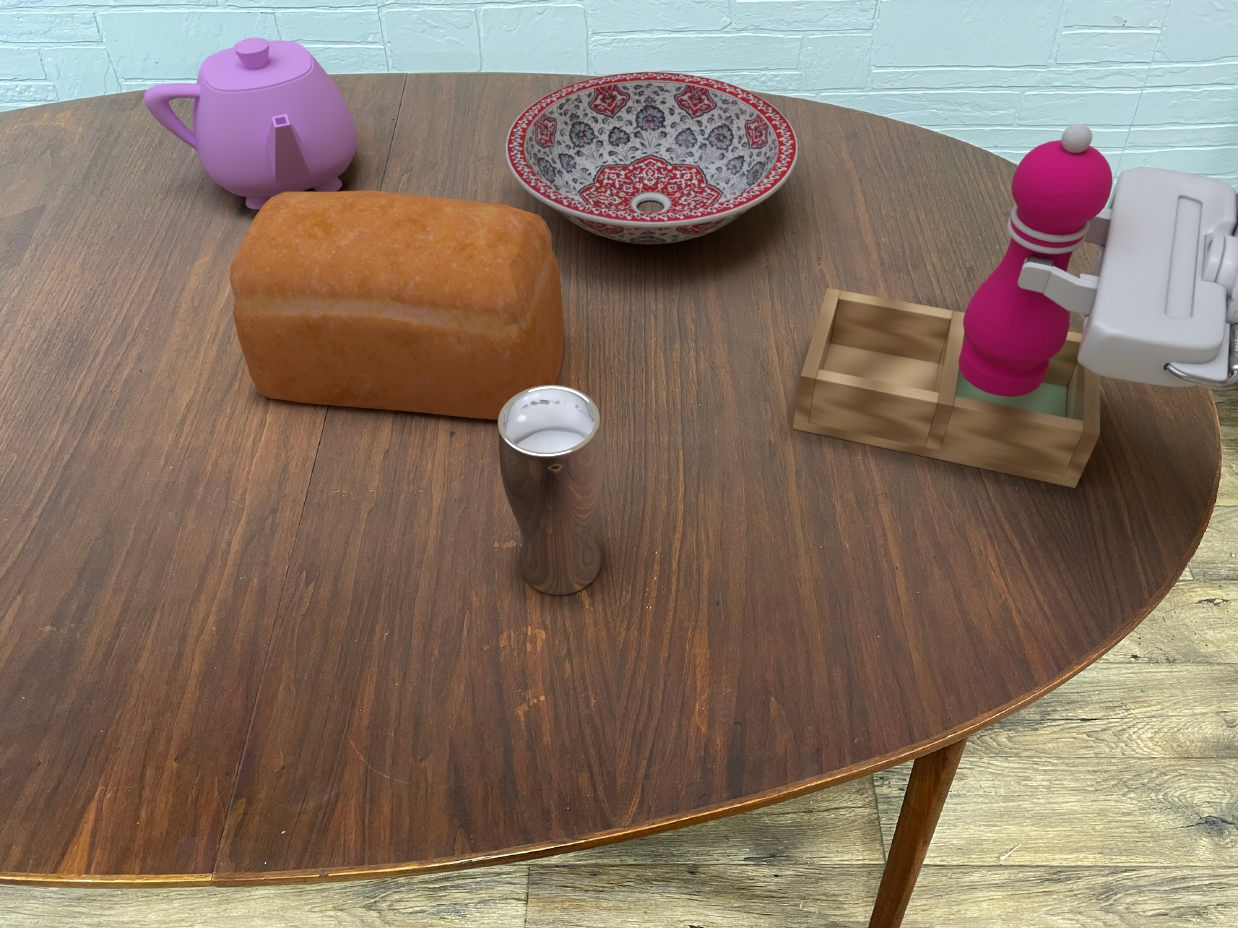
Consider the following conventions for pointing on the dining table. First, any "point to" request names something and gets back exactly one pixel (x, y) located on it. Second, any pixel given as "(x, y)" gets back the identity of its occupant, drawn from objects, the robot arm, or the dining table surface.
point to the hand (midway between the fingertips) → (1028, 244)
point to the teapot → (263, 120)
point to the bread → (398, 302)
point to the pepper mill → (1047, 227)
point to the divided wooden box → (940, 393)
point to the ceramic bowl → (651, 154)
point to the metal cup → (554, 484)
